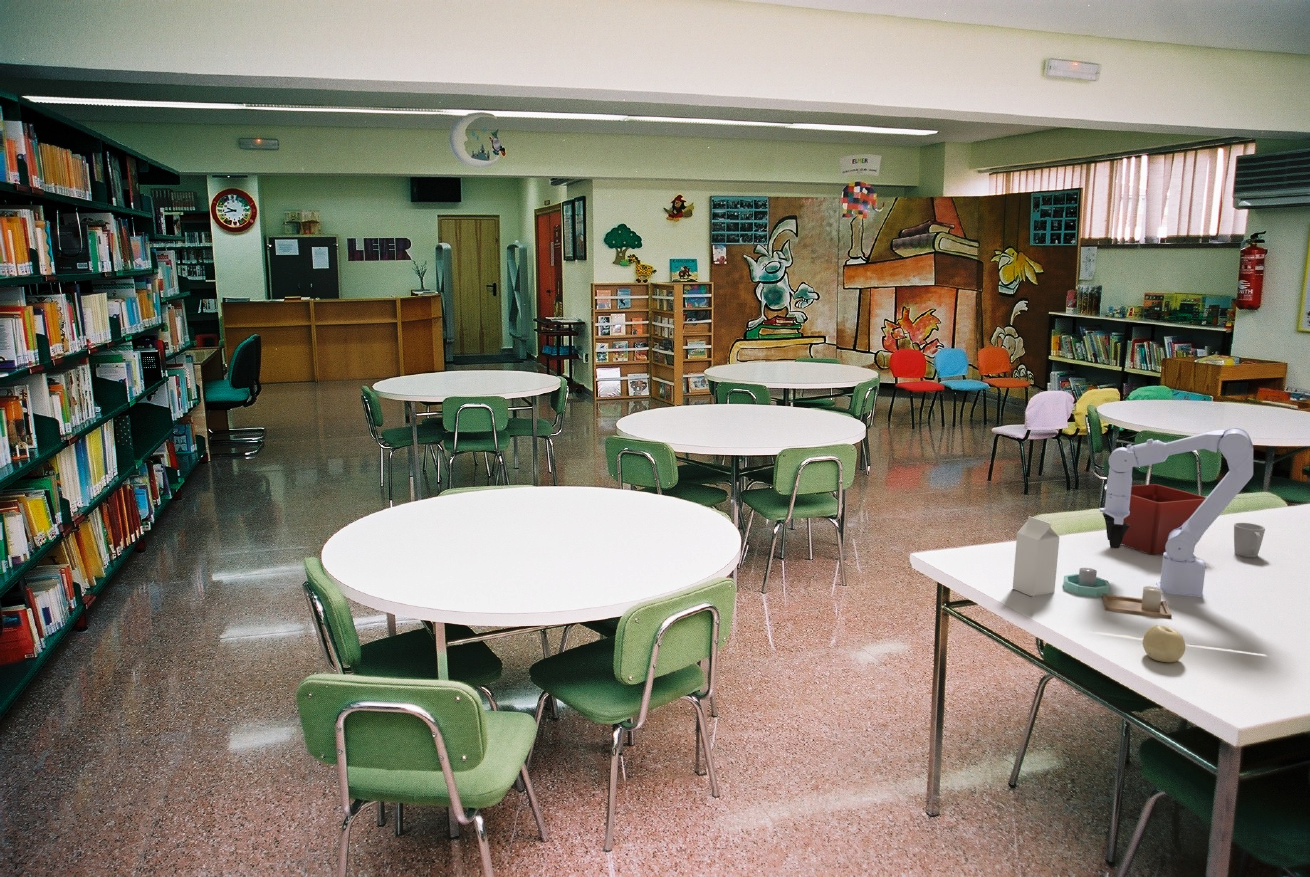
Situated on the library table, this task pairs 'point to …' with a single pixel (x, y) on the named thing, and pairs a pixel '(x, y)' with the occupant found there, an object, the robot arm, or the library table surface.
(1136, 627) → the library table surface
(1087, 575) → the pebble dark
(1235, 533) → the cup
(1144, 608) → the pebble light
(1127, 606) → the tray
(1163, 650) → the apple
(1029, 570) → the milk carton
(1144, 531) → the plant pot
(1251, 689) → the library table surface
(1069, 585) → the dish
